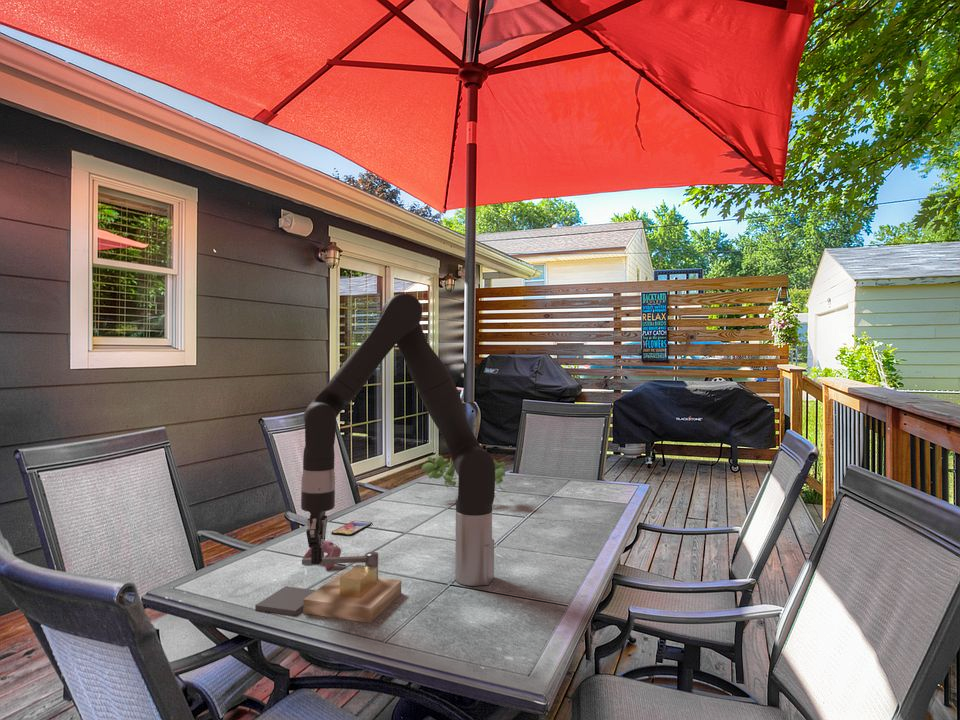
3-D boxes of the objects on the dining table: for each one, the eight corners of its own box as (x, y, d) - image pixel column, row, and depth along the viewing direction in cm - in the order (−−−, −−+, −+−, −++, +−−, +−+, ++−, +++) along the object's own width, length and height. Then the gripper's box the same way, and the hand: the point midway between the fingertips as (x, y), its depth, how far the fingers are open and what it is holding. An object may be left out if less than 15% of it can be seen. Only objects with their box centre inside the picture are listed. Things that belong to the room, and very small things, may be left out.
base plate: (401, 593, 134) (401, 580, 134) (370, 622, 118) (370, 608, 118) (340, 585, 138) (340, 573, 138) (303, 613, 123) (303, 599, 123)
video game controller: (337, 572, 151) (346, 545, 154) (326, 569, 147) (335, 542, 150) (310, 565, 156) (319, 539, 159) (299, 562, 152) (308, 536, 155)
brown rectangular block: (376, 584, 131) (376, 567, 131) (360, 598, 123) (360, 579, 124) (357, 582, 133) (357, 565, 133) (339, 595, 125) (339, 577, 125)
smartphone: (373, 522, 191) (350, 534, 177) (373, 525, 191) (350, 537, 177) (354, 520, 193) (329, 532, 179) (354, 523, 193) (329, 535, 179)
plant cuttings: (431, 511, 233) (412, 487, 216) (442, 473, 243) (424, 448, 226) (513, 520, 221) (498, 495, 204) (520, 480, 230) (507, 453, 214)
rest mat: (322, 595, 132) (322, 591, 132) (295, 615, 122) (295, 610, 122) (285, 590, 135) (285, 586, 135) (255, 609, 124) (255, 605, 124)
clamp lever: (378, 575, 136) (378, 551, 136) (377, 580, 133) (377, 556, 133) (303, 577, 134) (303, 553, 134) (300, 582, 131) (301, 558, 131)
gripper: (329, 494, 125) (328, 573, 125) (339, 482, 138) (337, 554, 138) (295, 494, 125) (293, 573, 124) (307, 482, 138) (306, 554, 137)
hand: (316, 563), depth 131 cm, fingers closed
